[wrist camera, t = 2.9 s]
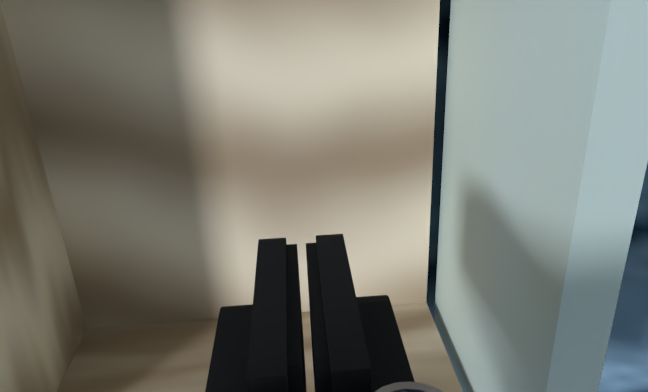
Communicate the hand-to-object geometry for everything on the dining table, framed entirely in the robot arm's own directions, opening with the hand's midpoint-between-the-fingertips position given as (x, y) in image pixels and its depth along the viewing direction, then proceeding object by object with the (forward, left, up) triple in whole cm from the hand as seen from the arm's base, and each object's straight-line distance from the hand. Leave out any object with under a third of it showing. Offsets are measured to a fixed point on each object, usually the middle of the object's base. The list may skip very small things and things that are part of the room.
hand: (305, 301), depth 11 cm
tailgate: (0, +6, -9) cm, 11 cm away
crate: (0, -2, -10) cm, 10 cm away
